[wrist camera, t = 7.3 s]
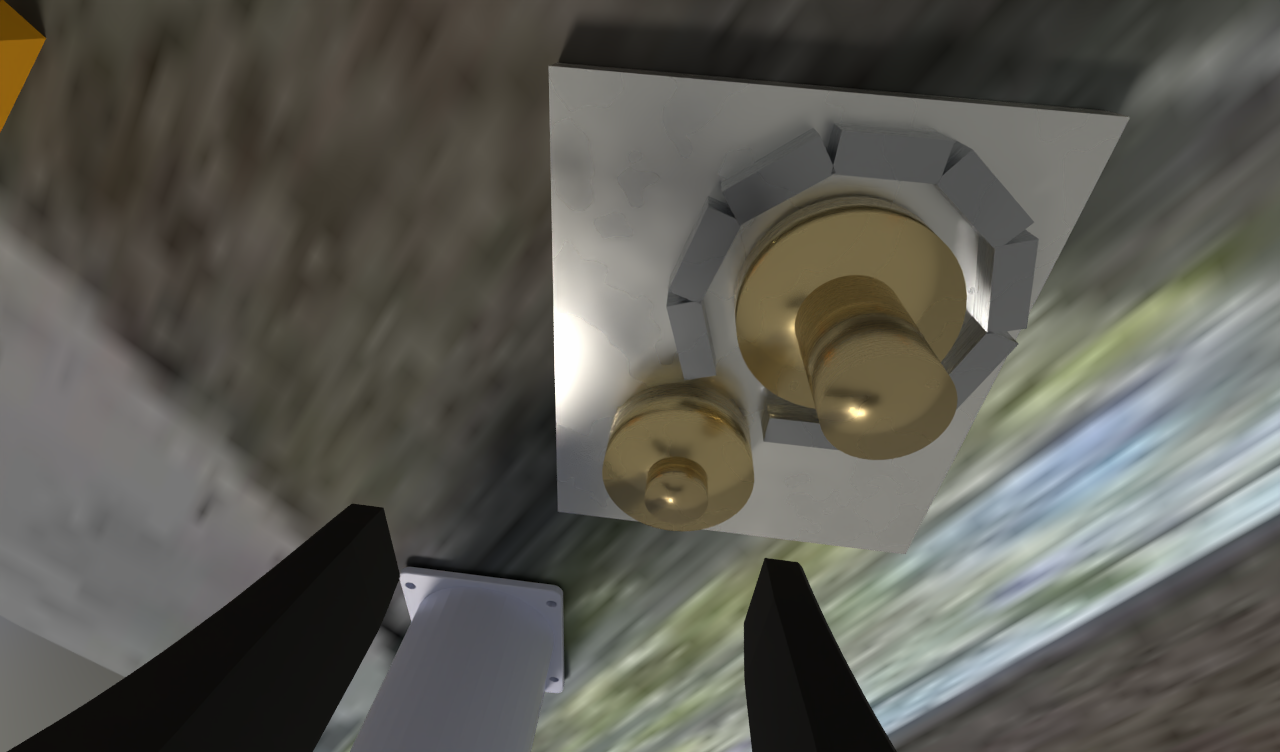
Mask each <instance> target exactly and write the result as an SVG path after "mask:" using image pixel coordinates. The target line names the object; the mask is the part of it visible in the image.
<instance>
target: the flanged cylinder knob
mask: <svg viewBox="0 0 1280 752" xmlns="http://www.w3.org/2000/svg"><path fill="white" fill-rule="evenodd" d="M966 305H967V291H966V282H965V278H964V275H963V271H962V269H961V267H960V264H959V262H958V260H957V258H956V257H955V255H954V254H953V253H952V251H951V250H950V248H949V247H948V246H947V245H946V244H945V243H944V242H943V241H942V240H941V239H940V238H939V237H938V236H937V235H936V234H935V233H934V232H933V231H932V230H931V229H930V228H929V227H928V226H927V225H926V224H925V223H924V222H923V221H922V220H921V219H920V218H919V217H918V216H916V215H915V214H913V213H912V212H910V211H909V210H907V209H905V208H903V207H901V206H899V205H897V204H895V203H892V202H889V201H885V200H882V199H877V198H871V197H856V196H851V197H840V198H834V199H829V200H824V201H820V202H818V203H815V204H812V205H809V206H806V207H804V208H802V209H800V210H798V211H796V212H794V213H792V214H791V215H789V216H787V217H786V218H784V219H783V220H781V221H780V222H778V223H777V224H776V225H775V226H774V227H772V228H771V229H770V230H769V231H768V232H767V233H766V234H765V235H764V236H763V237H762V238H761V239H760V240H759V241H758V242H757V244H756V245H755V246H754V248H753V249H752V250H751V252H750V253H749V255H748V257H747V258H746V260H745V262H744V264H743V266H742V269H741V271H740V273H739V276H738V280H737V284H736V287H735V296H734V312H735V323H736V333H737V340H738V345H739V349H740V352H741V355H742V357H743V359H744V361H745V363H746V365H747V367H748V369H749V370H750V371H751V373H752V374H753V375H754V377H755V378H756V379H757V380H758V381H759V382H760V383H761V384H762V385H763V386H764V387H766V388H767V389H768V390H770V391H771V392H772V393H774V394H775V395H777V396H779V397H781V398H782V399H784V400H787V401H789V402H792V403H794V404H797V405H801V406H804V407H808V408H814V409H816V412H817V416H818V419H819V423H820V427H821V430H822V432H823V434H824V436H825V437H826V439H827V440H828V441H829V442H830V443H831V444H832V445H833V446H834V447H835V448H837V449H838V450H840V451H842V452H843V453H845V454H848V455H850V456H853V457H857V458H861V459H867V460H887V459H894V458H899V457H903V456H906V455H909V454H912V453H914V452H917V451H919V450H920V449H922V448H924V447H926V446H927V445H929V444H931V443H932V442H933V441H935V440H936V439H937V438H938V437H939V436H940V435H941V434H942V433H943V432H944V431H945V430H946V429H947V427H948V426H949V424H950V423H951V421H952V419H953V417H954V415H955V412H956V408H957V400H958V398H957V391H956V387H955V385H954V383H953V381H952V379H951V377H950V376H949V374H948V373H947V371H946V370H945V368H944V367H943V365H942V364H941V361H942V360H943V359H944V358H945V356H946V355H947V354H948V352H949V351H950V349H951V348H952V346H953V345H954V343H955V341H956V339H957V337H958V335H959V333H960V330H961V327H962V325H963V322H964V317H965V313H966Z"/></svg>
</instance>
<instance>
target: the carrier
mask: <svg viewBox="0 0 1280 752" xmlns="http://www.w3.org/2000/svg"><path fill="white" fill-rule="evenodd" d="M549 105H550V154H551V203H552V252H553V301H554V350H555V398H556V447H557V496H558V512H565V513H573V514H581V515H589V516H597V517H606V518H614V519H622V520H630V521H638V522H641V523H643V524H646V525H649V526H652V527H655V528H659V529H664V530H671V531H694V530H701V529H704V530H712V531H720V532H729V533H737V534H745V535H753V536H761V537H770V538H778V539H786V540H794V541H802V542H811V543H819V544H827V545H835V546H843V547H852V548H860V549H868V550H876V551H884V552H892V553H901V554H906V552H907V550H908V548H909V546H910V544H911V542H912V540H913V538H914V536H915V534H916V532H917V531H918V529H919V527H920V525H921V523H922V521H923V519H924V517H925V515H926V513H927V511H928V509H929V507H930V505H931V503H932V501H933V499H934V497H935V496H936V494H937V492H938V490H939V488H940V486H941V484H942V482H943V480H944V478H945V476H946V474H947V472H948V470H949V468H950V466H951V464H952V463H953V461H954V459H955V457H956V455H957V453H958V451H959V449H960V447H961V445H962V443H963V441H964V439H965V437H966V435H967V433H968V431H969V429H970V428H971V426H972V424H973V422H974V420H975V418H976V416H977V414H978V412H979V410H980V408H981V406H982V404H983V402H984V400H985V398H986V396H987V394H988V393H989V391H990V389H991V387H992V385H993V383H994V381H995V379H996V377H997V375H998V373H999V371H1000V369H1001V367H1002V365H1003V363H1004V361H1005V360H1006V358H1007V356H1008V355H1009V354H1010V353H1011V351H1012V350H1013V349H1014V348H1015V347H1016V346H1017V345H1018V343H1017V342H1016V338H1017V336H1018V334H1019V332H1020V330H1021V329H1026V328H1027V323H1028V315H1029V313H1030V311H1031V309H1032V307H1033V305H1034V303H1035V301H1036V299H1037V297H1038V295H1039V293H1040V291H1041V290H1042V288H1043V286H1044V284H1045V282H1046V280H1047V278H1048V276H1049V274H1050V272H1051V270H1052V268H1053V266H1054V264H1055V262H1056V260H1057V258H1058V257H1059V255H1060V253H1061V251H1062V249H1063V247H1064V245H1065V243H1066V241H1067V239H1068V237H1069V235H1070V233H1071V231H1072V229H1073V227H1074V225H1075V223H1076V222H1077V220H1078V218H1079V216H1080V214H1081V212H1082V210H1083V208H1084V206H1085V204H1086V202H1087V200H1088V198H1089V196H1090V194H1091V192H1092V190H1093V188H1094V187H1095V185H1096V183H1097V181H1098V179H1099V177H1100V175H1101V173H1102V171H1103V169H1104V167H1105V165H1106V163H1107V161H1108V159H1109V157H1110V155H1111V154H1112V152H1113V150H1114V148H1115V146H1116V144H1117V142H1118V140H1119V138H1120V136H1121V134H1122V132H1123V130H1124V128H1125V126H1126V124H1127V122H1128V120H1129V119H1130V117H1128V116H1124V115H1120V114H1117V113H1113V112H1109V111H1105V110H1094V109H1083V108H1071V107H1060V106H1048V105H1037V104H1026V103H1014V102H1003V101H991V100H980V99H969V98H957V97H946V96H934V95H923V94H912V93H900V92H889V91H877V90H866V89H855V88H843V87H832V86H821V85H809V84H798V83H786V82H775V81H764V80H752V79H741V78H729V77H718V76H707V75H695V74H684V73H672V72H661V71H650V70H638V69H627V68H615V67H604V66H593V65H581V64H570V63H559V62H557V63H555V64H552V65H550V66H549ZM851 196H856V197H871V198H877V199H882V200H885V201H889V202H892V203H895V204H897V205H899V206H901V207H903V208H905V209H907V210H909V211H910V212H912V213H913V214H915V215H916V216H918V217H919V218H920V219H921V220H922V221H923V222H924V223H925V224H926V225H927V226H928V227H929V228H930V229H931V230H932V231H933V232H934V233H935V234H936V235H937V236H938V237H939V238H940V239H941V240H942V241H943V242H944V243H945V244H946V245H947V246H948V247H949V248H950V250H951V251H952V253H953V254H954V255H955V257H956V258H957V260H958V262H959V264H960V267H961V269H962V271H963V275H964V278H965V282H966V291H967V305H966V313H965V317H964V322H963V325H962V327H961V330H960V333H959V335H958V337H957V339H956V341H955V343H954V345H953V346H952V348H951V349H950V351H949V352H948V354H947V355H946V356H945V358H944V359H943V360H942V361H941V364H942V365H943V367H944V368H945V370H946V371H947V373H948V374H949V376H950V377H951V379H952V381H953V383H954V385H955V387H956V391H957V398H958V400H957V408H956V412H955V415H954V417H953V419H952V421H951V423H950V424H949V426H948V427H947V429H946V430H945V431H944V432H943V433H942V434H941V435H940V436H939V437H938V438H937V439H936V440H935V441H933V442H932V443H931V444H929V445H927V446H926V447H924V448H922V449H920V450H919V451H917V452H914V453H912V454H909V455H906V456H903V457H899V458H894V459H887V460H867V459H861V458H857V457H853V456H850V455H848V454H845V453H843V452H842V451H840V450H838V449H837V448H835V447H834V446H833V445H832V444H831V443H830V442H829V441H828V440H827V439H826V437H825V436H824V434H823V432H822V430H821V427H820V423H819V419H818V416H817V412H816V409H814V408H808V407H804V406H801V405H797V404H794V403H792V402H789V401H787V400H784V399H782V398H781V397H779V396H777V395H775V394H774V393H772V392H771V391H770V390H768V389H767V388H766V387H764V386H763V385H762V384H761V383H760V382H759V381H758V380H757V379H756V378H755V377H754V375H753V374H752V373H751V371H750V370H749V369H748V367H747V365H746V363H745V361H744V359H743V357H742V355H741V352H740V349H739V345H738V340H737V333H736V323H735V312H734V296H735V287H736V284H737V280H738V276H739V273H740V271H741V269H742V266H743V264H744V262H745V260H746V258H747V257H748V255H749V253H750V252H751V250H752V249H753V248H754V246H755V245H756V244H757V242H758V241H759V240H760V239H761V238H762V237H763V236H764V235H765V234H766V233H767V232H768V231H769V230H770V229H771V228H772V227H774V226H775V225H776V224H777V223H778V222H780V221H781V220H783V219H784V218H786V217H787V216H789V215H791V214H792V213H794V212H796V211H798V210H800V209H802V208H804V207H806V206H809V205H812V204H815V203H818V202H820V201H824V200H829V199H834V198H840V197H851Z"/></svg>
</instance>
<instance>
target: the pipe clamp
mask: <svg viewBox="0 0 1280 752" xmlns="http://www.w3.org/2000/svg"><path fill="white" fill-rule="evenodd" d="M45 40H46V38H45V37H44V36H43V35H42V34H41V33H40V32H38V31H37V30H36V29H35V28H34V27H33V26H32V25H31V24H29V23H28V22H27V21H26V20H25V19H24V18H23V17H22V16H21V15H19V14H18V13H17V12H16V11H15V10H14V9H13V8H12V7H11V6H9V5H8V4H7V3H6V2H5V1H4V0H0V132H1V130H2V128H3V126H4V124H5V122H6V120H7V118H8V115H9V113H10V111H11V109H12V107H13V105H14V103H15V101H16V99H17V97H18V95H19V93H20V91H21V89H22V87H23V85H24V83H25V81H26V79H27V76H28V74H29V72H30V70H31V68H32V66H33V64H34V62H35V60H36V58H37V56H38V54H39V52H40V50H41V48H42V46H43V44H44V42H45Z"/></svg>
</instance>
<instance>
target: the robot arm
mask: <svg viewBox="0 0 1280 752" xmlns="http://www.w3.org/2000/svg"><path fill="white" fill-rule="evenodd" d="M399 578H400V582H401V586H402V589H403V593H404V596H405V600H406V604H407V607H408V611H409V614H410V618H411V624H410V626H409V628H408V630H407V632H406V634H405V637H404V639H403V641H402V643H401V645H400V647H399V649H398V651H397V653H396V656H395V658H394V660H393V662H392V664H391V666H390V668H389V670H388V672H387V675H386V677H385V679H384V681H383V683H382V685H381V687H380V689H379V691H378V693H377V696H376V698H375V700H374V702H373V704H372V706H371V708H370V710H369V712H368V715H367V717H366V719H365V721H364V723H363V725H362V727H361V729H360V731H359V733H358V736H357V738H356V740H355V742H354V744H353V746H352V748H351V750H350V752H531V749H532V744H533V740H534V736H535V732H536V727H537V723H538V719H539V714H540V710H541V706H542V701H543V697H544V693H545V692H552V693H560V692H562V691H563V688H564V620H563V591H562V589H561V588H560V587H558V586H556V585H551V584H543V583H535V582H527V581H519V580H511V579H504V578H496V577H488V576H480V575H472V574H464V573H457V572H449V571H441V570H433V569H425V568H417V567H405V568H403V569H402V571H401V573H399V569H398V565H397V561H396V557H395V553H394V549H393V545H392V541H391V537H390V533H389V529H388V525H387V520H386V516H385V512H384V508H381V507H374V506H366V505H359V504H351V505H350V506H348V507H347V508H346V509H344V510H343V511H342V512H341V513H340V514H338V515H337V516H336V517H335V518H333V519H332V520H331V521H330V522H328V523H327V524H326V525H325V526H324V527H322V528H321V529H320V530H319V531H318V532H316V533H315V534H314V535H313V536H311V537H310V538H309V539H308V540H307V541H305V542H304V543H303V544H302V545H301V546H299V547H298V548H297V549H296V550H294V551H293V552H292V553H291V554H290V555H288V556H287V557H286V558H285V559H283V560H282V561H281V562H280V563H279V564H277V565H276V566H275V567H274V568H272V569H271V570H270V571H269V572H267V573H266V574H265V575H264V576H262V577H261V578H260V579H258V580H257V581H256V582H255V583H253V584H252V585H251V586H250V587H248V588H247V589H246V590H245V591H243V592H242V593H241V594H240V595H238V596H237V597H236V598H235V599H233V600H232V601H231V602H229V603H228V604H227V605H225V606H224V607H223V608H221V609H220V610H219V611H217V612H216V613H215V614H213V615H212V616H211V617H209V618H208V619H207V620H205V621H204V622H203V623H201V624H200V625H199V626H197V627H196V628H194V629H193V630H192V631H190V632H189V633H188V634H186V635H185V636H184V637H182V638H181V639H180V640H178V641H177V642H176V643H174V644H173V645H171V646H170V647H169V648H167V649H166V650H164V651H163V652H162V653H160V654H159V655H157V656H156V657H154V658H153V659H152V660H150V661H149V662H147V663H146V664H144V665H143V666H142V667H140V668H139V669H137V670H136V671H134V672H133V673H131V674H130V675H128V676H127V677H125V678H124V679H122V680H121V681H119V682H118V683H116V684H115V685H113V686H112V687H110V688H109V689H107V690H106V691H104V692H103V693H101V694H100V695H98V696H97V697H95V698H94V699H92V700H91V701H89V702H87V703H86V704H84V705H83V706H81V707H79V708H78V709H76V710H75V711H73V712H71V713H70V714H68V715H67V716H65V717H63V718H62V719H60V720H59V721H57V722H55V723H54V724H52V725H51V726H49V727H47V728H45V729H44V730H42V731H40V732H39V733H37V734H35V735H34V736H32V737H30V738H29V739H27V740H25V741H24V742H22V743H21V744H19V745H17V746H16V747H14V748H12V749H11V750H9V751H7V752H313V750H314V748H315V747H316V745H317V743H318V741H319V739H320V737H321V736H322V734H323V732H324V730H325V728H326V726H327V725H328V723H329V721H330V719H331V717H332V715H333V714H334V712H335V710H336V708H337V706H338V704H339V703H340V701H341V699H342V697H343V695H344V693H345V692H346V690H347V688H348V686H349V684H350V682H351V681H352V679H353V677H354V675H355V673H356V671H357V670H358V668H359V666H360V664H361V662H362V660H363V658H364V657H365V655H366V653H367V651H368V649H369V647H370V645H371V644H372V642H373V640H374V638H375V636H376V634H377V632H378V630H379V628H380V626H381V623H382V621H383V618H384V616H385V614H386V611H387V609H388V606H389V604H390V601H391V599H392V596H393V594H394V591H395V589H396V586H397V583H398V581H399ZM744 677H745V690H746V699H747V708H748V717H749V726H750V735H751V744H752V752H897V751H896V750H895V748H894V746H893V745H892V743H891V741H890V740H889V738H888V736H887V734H886V733H885V731H884V729H883V728H882V726H881V724H880V723H879V721H878V719H877V717H876V716H875V714H874V712H873V710H872V708H871V707H870V705H869V703H868V701H867V700H866V698H865V696H864V694H863V692H862V690H861V688H860V686H859V685H858V683H857V681H856V679H855V677H854V675H853V673H852V671H851V670H850V668H849V666H848V664H847V662H846V660H845V658H844V656H843V654H842V652H841V650H840V648H839V646H838V644H837V642H836V640H835V638H834V636H833V634H832V632H831V630H830V628H829V626H828V624H827V622H826V620H825V618H824V616H823V613H822V611H821V609H820V607H819V605H818V603H817V600H816V598H815V596H814V594H813V591H812V589H811V587H810V585H809V582H808V580H807V578H806V575H805V573H804V570H803V568H802V567H801V565H800V564H799V563H798V562H791V561H784V560H776V559H768V558H765V559H764V562H763V565H762V568H761V571H760V575H759V578H758V581H757V584H756V587H755V590H754V593H753V596H752V600H751V603H750V606H749V609H748V612H747V615H746V618H745V621H744Z"/></svg>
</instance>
